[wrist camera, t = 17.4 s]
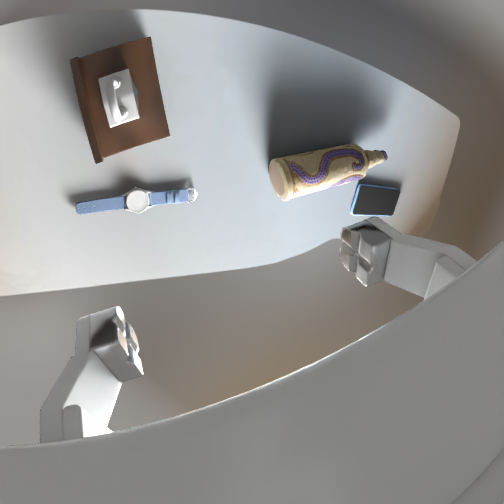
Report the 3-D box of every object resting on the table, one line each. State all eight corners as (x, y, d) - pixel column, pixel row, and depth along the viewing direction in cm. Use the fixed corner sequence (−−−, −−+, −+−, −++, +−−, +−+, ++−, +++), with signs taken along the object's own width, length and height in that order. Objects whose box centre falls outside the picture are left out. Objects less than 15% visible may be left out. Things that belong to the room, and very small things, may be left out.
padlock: (142, 115, 32) (147, 132, 20) (111, 126, 31) (97, 150, 19) (132, 67, 28) (130, 53, 16) (99, 78, 27) (77, 71, 15)
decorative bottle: (269, 194, 52) (286, 209, 47) (265, 154, 48) (283, 164, 42) (375, 169, 58) (397, 179, 53) (376, 136, 54) (399, 144, 49)
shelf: (148, 43, 31) (151, 33, 25) (165, 130, 39) (172, 139, 33) (81, 64, 29) (69, 59, 23) (101, 150, 37) (95, 164, 31)
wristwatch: (197, 204, 48) (198, 207, 47) (78, 219, 40) (77, 222, 40) (197, 180, 45) (198, 182, 45) (74, 194, 38) (73, 197, 38)
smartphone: (392, 216, 67) (351, 215, 61) (390, 215, 68) (348, 214, 62) (401, 189, 64) (360, 184, 57) (399, 188, 64) (357, 182, 58)
